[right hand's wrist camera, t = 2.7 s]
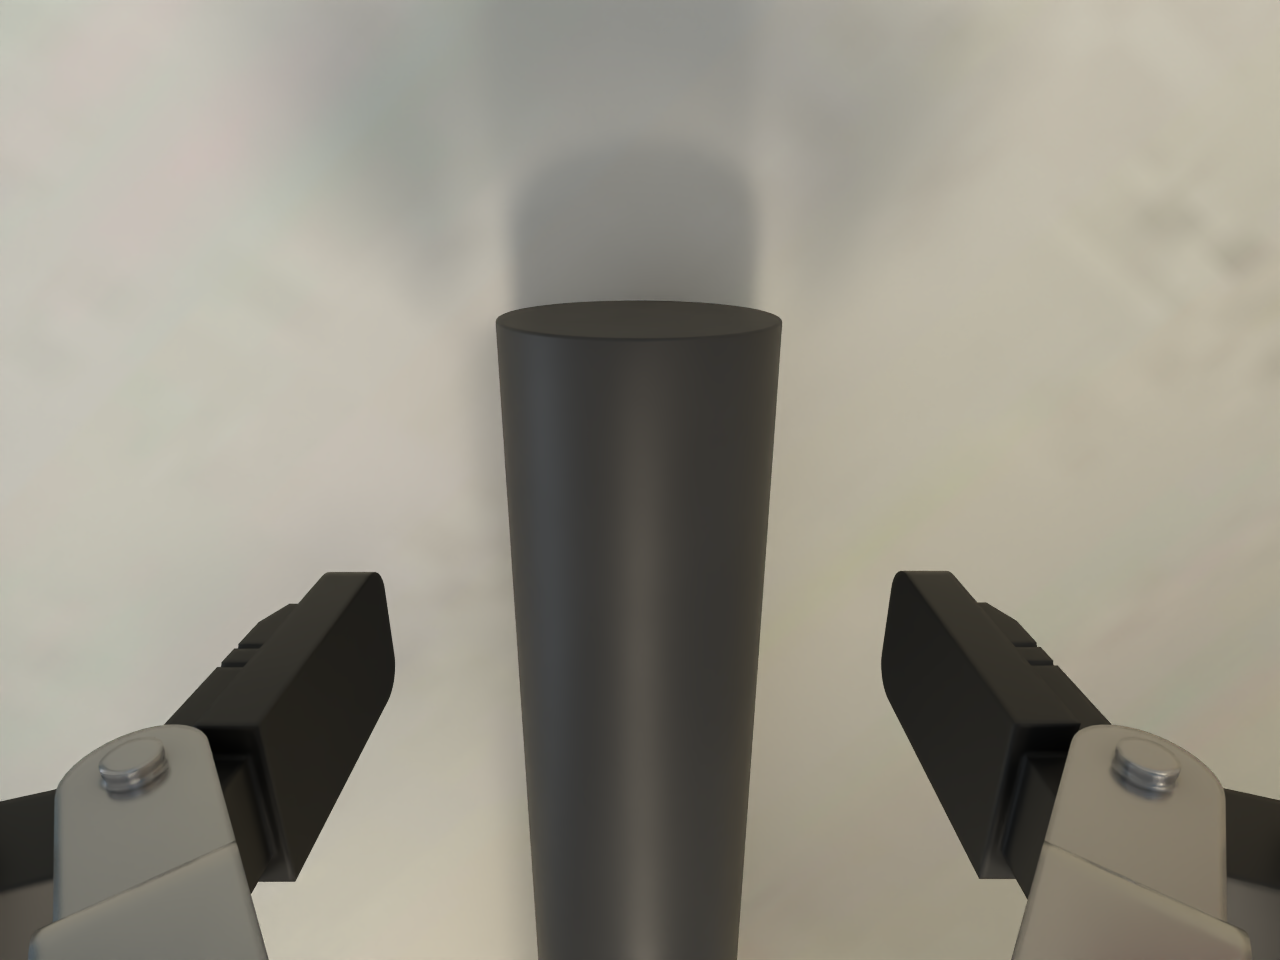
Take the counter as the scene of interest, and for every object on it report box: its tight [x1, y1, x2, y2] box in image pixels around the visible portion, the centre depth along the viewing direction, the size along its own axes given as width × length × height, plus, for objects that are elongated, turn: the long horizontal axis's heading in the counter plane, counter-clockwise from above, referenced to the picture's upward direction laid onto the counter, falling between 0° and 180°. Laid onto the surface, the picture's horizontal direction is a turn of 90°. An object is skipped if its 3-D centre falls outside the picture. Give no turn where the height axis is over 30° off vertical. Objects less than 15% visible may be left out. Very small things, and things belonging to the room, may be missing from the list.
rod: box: [496, 301, 782, 960], centre depth 20 cm, size 28×6×6 cm, turn 0°
